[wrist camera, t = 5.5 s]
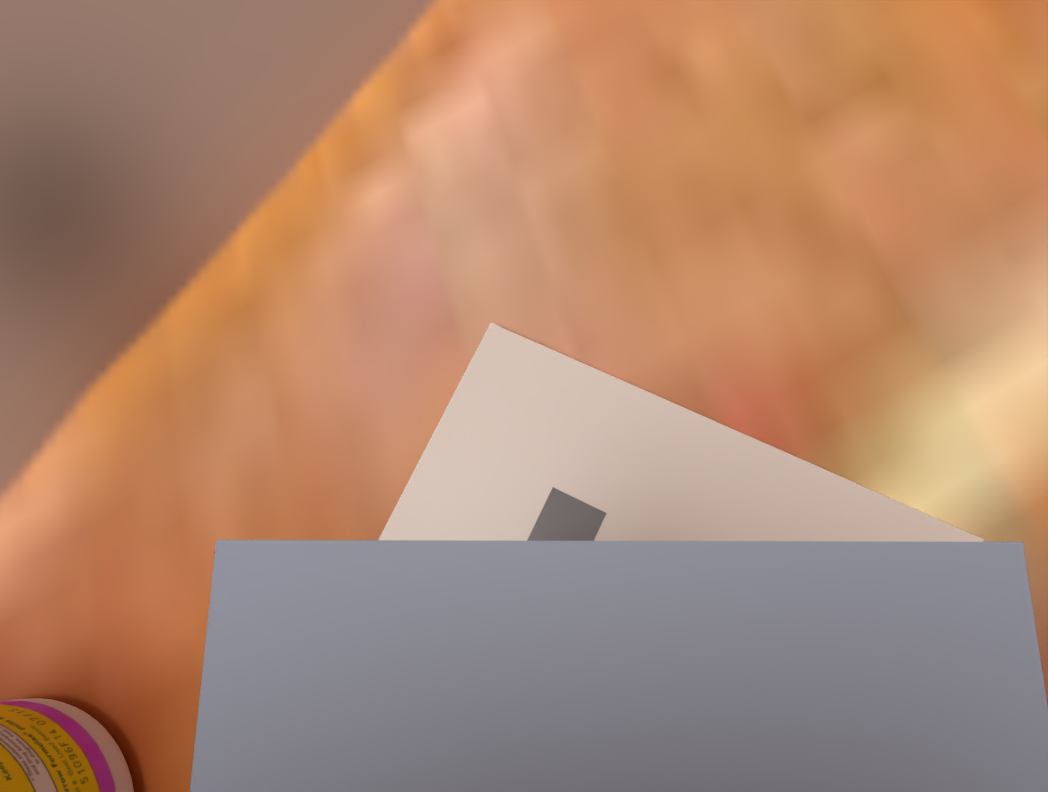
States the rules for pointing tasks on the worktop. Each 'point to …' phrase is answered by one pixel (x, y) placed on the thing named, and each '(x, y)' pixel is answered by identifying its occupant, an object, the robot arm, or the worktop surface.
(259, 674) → the gray block
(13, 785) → the supplement bottle
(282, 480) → the worktop surface
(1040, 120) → the worktop surface
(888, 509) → the pad
